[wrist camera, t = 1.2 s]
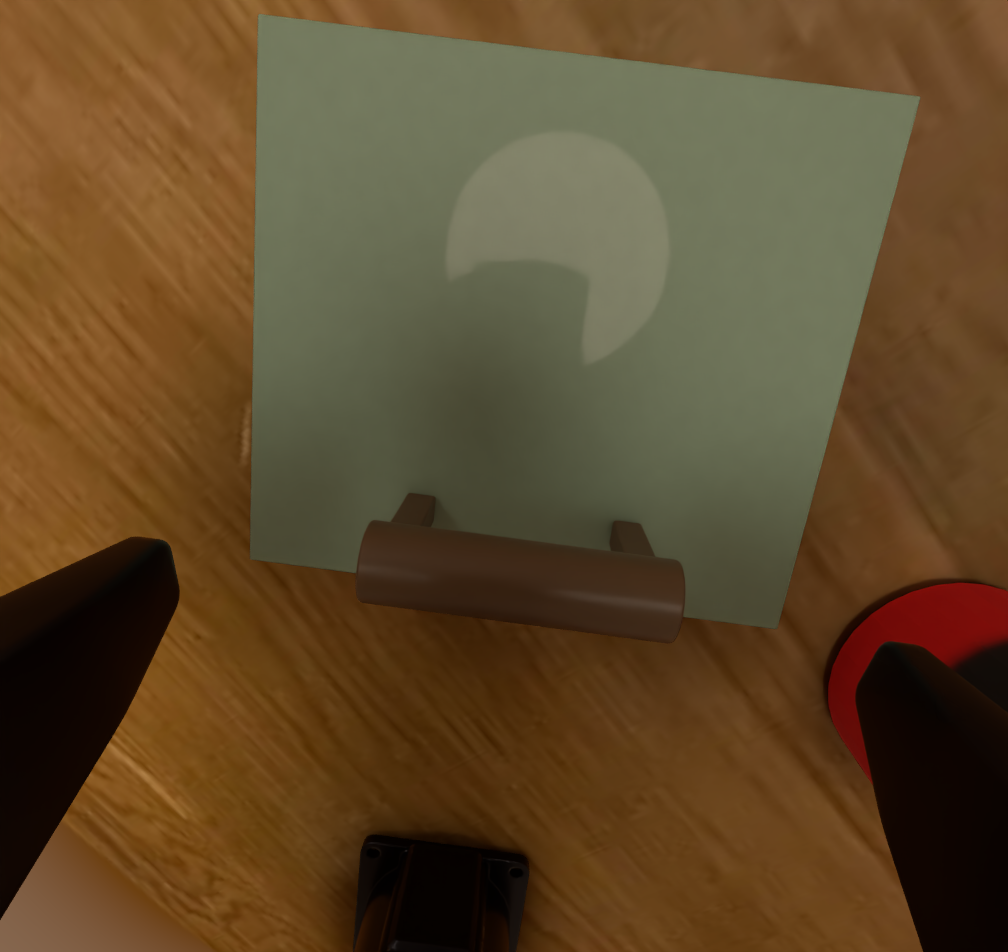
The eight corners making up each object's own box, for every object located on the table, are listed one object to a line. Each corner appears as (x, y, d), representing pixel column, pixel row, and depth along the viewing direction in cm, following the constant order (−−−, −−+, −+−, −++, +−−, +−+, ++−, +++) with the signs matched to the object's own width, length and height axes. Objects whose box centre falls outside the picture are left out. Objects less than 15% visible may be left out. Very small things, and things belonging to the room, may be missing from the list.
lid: (767, 616, 17) (856, 741, 12) (260, 549, 17) (156, 648, 12) (903, 105, 14) (1095, 10, 9) (270, 26, 14) (134, -109, 9)
